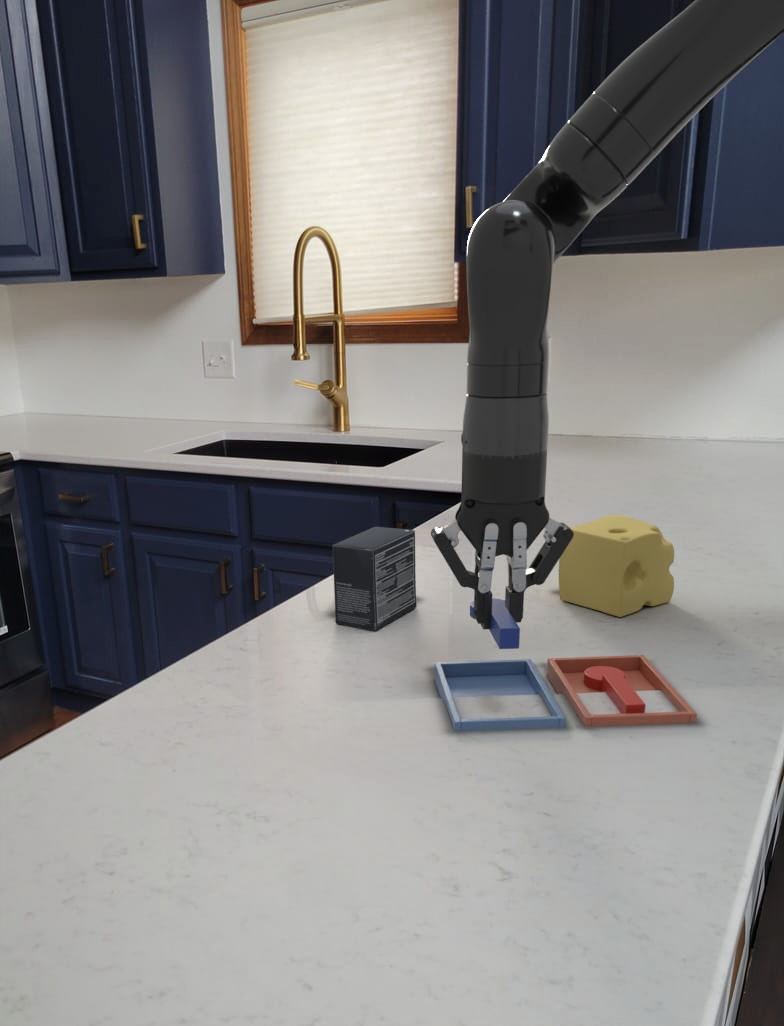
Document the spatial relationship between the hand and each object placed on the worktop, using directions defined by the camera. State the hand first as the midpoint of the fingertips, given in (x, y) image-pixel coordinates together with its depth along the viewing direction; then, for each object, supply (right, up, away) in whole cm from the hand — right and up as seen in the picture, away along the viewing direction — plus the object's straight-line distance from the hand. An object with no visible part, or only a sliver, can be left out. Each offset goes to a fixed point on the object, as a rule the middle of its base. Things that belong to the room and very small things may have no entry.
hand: (498, 625), depth 92 cm
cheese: (+21, +3, +32) cm, 39 cm away
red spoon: (+12, -7, +3) cm, 14 cm away
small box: (-9, +2, +31) cm, 32 cm away
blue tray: (0, -8, +4) cm, 9 cm away
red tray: (+12, -8, +3) cm, 15 cm away
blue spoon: (0, 0, 0) cm, 0 cm away
